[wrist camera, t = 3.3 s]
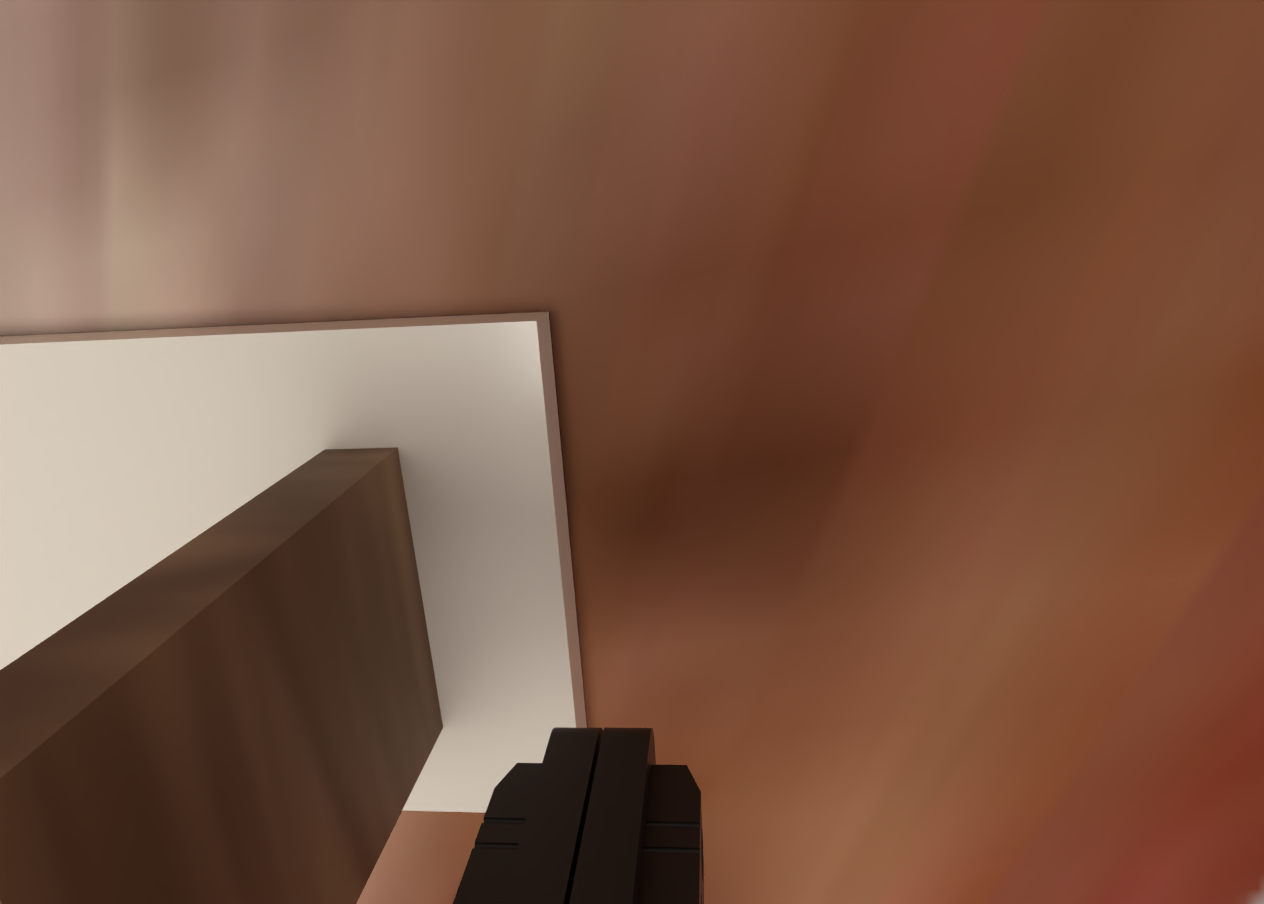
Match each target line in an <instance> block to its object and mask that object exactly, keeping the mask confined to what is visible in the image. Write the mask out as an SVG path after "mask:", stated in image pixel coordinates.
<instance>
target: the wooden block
mask: <svg viewBox="0 0 1264 904" xmlns="http://www.w3.org/2000/svg"><path fill="white" fill-rule="evenodd" d="M442 729H443V723H442V717H441V711H440V705H439V699H438V693H437V686H436V680H435V674H434V668H433V662H432V656H431V649H430V643H429V637H428V631H427V625H426V619H425V613H424V606H423V600H422V594H421V588H420V582H419V576H418V569H417V563H416V557H415V551H414V545H413V539H412V533H411V526H410V520H409V514H408V508H407V502H406V496H405V489H404V483H403V477H402V471H401V465H400V459H399V453H398V447H396V448H359V449H325V450H323V451H322V452H320V453H319V454H317V455H316V456H314V457H313V458H311V459H310V460H308V461H307V462H305V463H304V464H303V465H301V466H300V467H298V468H297V469H295V470H294V471H292V472H291V473H289V474H288V475H286V476H285V477H283V478H282V479H280V480H279V481H278V482H276V483H275V484H273V485H272V486H270V487H269V488H267V489H266V490H264V491H263V492H261V493H260V494H258V495H257V496H255V497H254V498H253V499H251V500H250V501H248V502H247V503H245V504H244V505H242V506H241V507H239V508H238V509H236V510H235V511H233V512H232V513H231V514H229V515H228V516H226V517H225V518H223V519H222V520H220V521H219V522H217V523H216V524H214V525H213V526H211V527H210V528H208V529H207V530H206V531H204V532H203V533H201V534H200V535H198V536H197V537H195V538H194V539H192V540H191V541H189V542H188V543H186V544H185V545H183V546H182V547H181V548H179V549H178V550H176V551H175V552H173V553H172V554H170V555H169V556H167V557H166V558H164V559H163V560H161V561H160V562H158V563H157V564H156V565H154V566H153V567H151V568H150V569H148V570H147V571H145V572H144V573H142V574H141V575H139V576H138V577H136V578H135V579H133V580H132V581H131V582H129V583H128V584H126V585H125V586H123V587H122V588H120V589H119V590H117V591H116V592H114V593H113V594H111V595H110V596H109V597H107V598H106V599H104V600H103V601H101V602H100V603H98V604H97V605H95V606H94V607H92V608H91V609H89V610H88V611H86V612H85V613H84V614H82V615H81V616H79V617H78V618H76V619H75V620H73V621H72V622H70V623H69V624H67V625H66V626H64V627H63V628H61V629H60V630H59V631H57V632H56V633H54V634H53V635H51V636H50V637H48V638H47V639H45V640H44V641H42V642H41V643H39V644H38V645H36V646H35V647H34V648H32V649H31V650H29V651H28V652H26V653H25V654H23V655H22V656H20V657H19V658H17V659H16V660H14V661H13V662H11V663H10V664H9V665H7V666H6V667H4V668H3V669H1V670H0V904H356V903H357V901H358V899H359V897H360V895H361V893H362V891H363V889H364V887H365V885H366V883H367V880H368V878H369V876H370V874H371V872H372V870H373V868H374V866H375V864H376V862H377V860H378V858H379V856H380V854H381V852H382V850H383V848H384V846H385V844H386V842H387V840H388V838H389V836H390V834H391V832H392V830H393V828H394V826H395V824H396V822H397V820H398V818H399V816H400V814H401V812H402V810H403V808H404V806H405V804H406V802H407V800H408V798H409V796H410V794H411V792H412V790H413V787H414V785H415V783H416V781H417V779H418V777H419V775H420V773H421V771H422V769H423V767H424V765H425V763H426V761H427V759H428V757H429V755H430V753H431V751H432V749H433V747H434V745H435V743H436V741H437V739H438V737H439V735H440V733H441V731H442Z"/></svg>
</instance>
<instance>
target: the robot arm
mask: <svg viewBox="0 0 1264 904" xmlns="http://www.w3.org/2000/svg"><path fill="white" fill-rule="evenodd" d="M453 904H704V861H703V837H702V812H701V791H700V789H699V788H698V786H697V784H696V782H695V780H694V778H693V776H692V774H691V772H690V771H689V769H688V767H687V765H656V761H655V745H654V733H653V729H652V728H604V730H602V728H569V727H555V728H553V730H552V732H551V734H550V738H549V741H548V745H547V748H546V752H545V755H544V758H543V762H542V763H517V764H516V765H515V766H514V767H513V768H512V769H511V770H510V771H509V772H508V773H507V775H506V776H505V777H504V778H503V779H502V780H501V781H500V782H499V783H498V785H497V786H496V787H495V788H494V791H493V793H492V796H491V799H490V802H489V805H488V807H487V810H486V813H485V816H484V823H482V824H481V827H480V830H479V832H478V835H477V838H476V841H475V848H473V849H472V852H471V855H470V858H469V860H468V863H467V866H466V869H465V871H464V874H463V877H462V880H461V883H460V885H459V888H458V891H457V894H456V897H455V899H454V902H453Z"/></svg>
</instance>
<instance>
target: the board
mask: <svg viewBox="0 0 1264 904" xmlns="http://www.w3.org/2000/svg"><path fill="white" fill-rule="evenodd" d="M396 447H398V453H399V459H400V465H401V471H402V477H403V483H404V489H405V496H406V502H407V508H408V514H409V520H410V526H411V533H412V539H413V545H414V551H415V557H416V563H417V569H418V576H419V582H420V588H421V594H422V600H423V606H424V613H425V619H426V625H427V631H428V637H429V643H430V649H431V656H432V662H433V668H434V674H435V680H436V686H437V693H438V699H439V705H440V711H441V717H442V723H443V729H442V731H441V733H440V735H439V737H438V739H437V741H436V743H435V745H434V747H433V749H432V751H431V753H430V755H429V757H428V759H427V761H426V763H425V765H424V767H423V769H422V771H421V773H420V775H419V777H418V779H417V781H416V783H415V785H414V787H413V790H412V792H411V794H410V796H409V798H408V800H407V802H406V804H405V806H404V808H403V810H408V811H446V812H484V813H486V810H487V807H488V805H489V802H490V799H491V796H492V793H493V791H494V788H495V787H496V786H497V785H498V783H499V782H500V781H501V780H502V779H503V778H504V777H505V776H506V775H507V773H508V772H509V771H510V770H511V769H512V768H513V767H514V766H515V765H516V764H517V763H542V762H543V758H544V755H545V752H546V748H547V745H548V741H549V738H550V734H551V732H552V730H553V728H555V727H569V728H587V723H586V712H585V701H584V690H583V680H582V669H581V658H580V647H579V636H578V625H577V615H576V604H575V593H574V582H573V571H572V560H571V549H570V539H569V528H568V517H567V506H566V495H565V484H564V474H563V463H562V452H561V441H560V430H559V419H558V408H557V398H556V387H555V376H554V365H553V354H552V343H551V332H550V322H549V312H528V313H506V314H484V315H462V316H440V317H418V318H396V319H374V320H352V321H330V322H308V323H286V324H264V325H242V326H220V327H198V328H176V329H154V330H132V331H110V332H88V333H66V334H44V335H22V336H0V670H1V669H3V668H4V667H6V666H7V665H9V664H10V663H11V662H13V661H14V660H16V659H17V658H19V657H20V656H22V655H23V654H25V653H26V652H28V651H29V650H31V649H32V648H34V647H35V646H36V645H38V644H39V643H41V642H42V641H44V640H45V639H47V638H48V637H50V636H51V635H53V634H54V633H56V632H57V631H59V630H60V629H61V628H63V627H64V626H66V625H67V624H69V623H70V622H72V621H73V620H75V619H76V618H78V617H79V616H81V615H82V614H84V613H85V612H86V611H88V610H89V609H91V608H92V607H94V606H95V605H97V604H98V603H100V602H101V601H103V600H104V599H106V598H107V597H109V596H110V595H111V594H113V593H114V592H116V591H117V590H119V589H120V588H122V587H123V586H125V585H126V584H128V583H129V582H131V581H132V580H133V579H135V578H136V577H138V576H139V575H141V574H142V573H144V572H145V571H147V570H148V569H150V568H151V567H153V566H154V565H156V564H157V563H158V562H160V561H161V560H163V559H164V558H166V557H167V556H169V555H170V554H172V553H173V552H175V551H176V550H178V549H179V548H181V547H182V546H183V545H185V544H186V543H188V542H189V541H191V540H192V539H194V538H195V537H197V536H198V535H200V534H201V533H203V532H204V531H206V530H207V529H208V528H210V527H211V526H213V525H214V524H216V523H217V522H219V521H220V520H222V519H223V518H225V517H226V516H228V515H229V514H231V513H232V512H233V511H235V510H236V509H238V508H239V507H241V506H242V505H244V504H245V503H247V502H248V501H250V500H251V499H253V498H254V497H255V496H257V495H258V494H260V493H261V492H263V491H264V490H266V489H267V488H269V487H270V486H272V485H273V484H275V483H276V482H278V481H279V480H280V479H282V478H283V477H285V476H286V475H288V474H289V473H291V472H292V471H294V470H295V469H297V468H298V467H300V466H301V465H303V464H304V463H305V462H307V461H308V460H310V459H311V458H313V457H314V456H316V455H317V454H319V453H320V452H322V451H323V450H325V449H359V448H396Z"/></svg>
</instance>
